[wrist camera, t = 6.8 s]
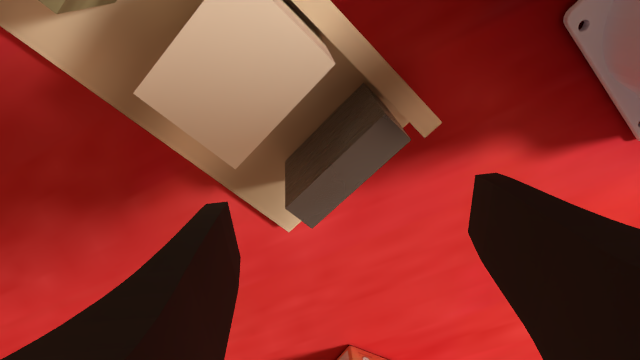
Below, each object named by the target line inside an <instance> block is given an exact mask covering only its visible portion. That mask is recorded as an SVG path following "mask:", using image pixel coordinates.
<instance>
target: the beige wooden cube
mask: <svg viewBox="0 0 640 360" xmlns="http://www.w3.org/2000/svg"><path fill="white" fill-rule="evenodd" d="M335 64H336V63H335V62H334V60H333V58H332V56H331V54H330V52H329V51H328V49H327V47H326V45H325V43H324V41H323V39H322V38H321V36H320V35H319V34H318V33H317V32H316V31H315V30H314V29H313V28H312V27H311V26H310V25H309V24H308V23H307V22H306V21H305V20H304V19H303V18H302V17H301V16H300V15H299V14H298V13H297V12H296V11H295V10H294V9H293V8H292V7H291V6H290V5H289V4H288V3H287V2H286V1H285V0H204V1H203V2H202V4H201V5H200V6H199V8H198V9H197V10H196V11H195V13H194V14H193V15H192V17H191V18H190V19H189V21H188V22H187V23H186V25H185V26H184V27H183V28H182V30H181V31H180V32H179V34H178V35H177V36H176V38H175V39H174V40H173V42H172V43H171V44H170V46H169V47H168V48H167V49H166V51H165V52H164V53H163V55H162V56H161V57H160V59H159V60H158V61H157V63H156V64H155V65H154V66H153V68H152V69H151V70H150V72H149V73H148V74H147V76H146V77H145V78H144V80H143V81H142V82H141V84H140V85H139V86H138V87H137V89H136V90H135V91H134V93H133V94H134V95H136V96H137V97H139V98H140V99H141V100H143V101H144V102H145V103H147V104H148V105H149V106H151V107H152V108H153V109H155V110H156V111H157V112H159V113H160V114H161V115H163V116H164V117H165V118H167V119H168V120H169V121H171V122H172V123H173V124H175V125H176V126H178V127H179V128H180V129H182V130H183V131H184V132H186V133H187V134H188V135H190V136H191V137H192V138H194V139H195V140H196V141H198V142H199V143H200V144H202V145H203V146H204V147H206V148H207V149H208V150H210V151H211V152H213V153H214V154H215V155H217V156H218V157H219V158H221V159H222V160H223V161H225V162H226V163H227V164H229V165H230V166H231V167H233V168H234V169H236V168H237V167H238V166H239V165H240V164H241V163H242V162H243V161H244V160H245V159H246V158H247V157H248V156H249V155H250V154H251V153H252V151H253V150H254V149H255V148H256V147H257V146H258V145H259V144H260V143H261V142H262V141H263V140H264V139H265V138H266V137H267V136H268V135H269V134H270V132H271V131H272V130H273V129H274V128H275V127H276V126H277V125H278V124H279V123H280V122H281V121H282V120H283V119H284V118H285V117H286V116H287V115H288V113H289V112H290V111H291V110H292V109H293V108H294V107H295V106H296V105H297V104H298V103H299V102H300V101H301V100H302V99H303V98H304V97H305V96H306V95H307V93H308V92H309V91H310V90H311V89H312V88H313V87H314V86H315V85H316V84H317V83H318V82H319V81H320V80H321V79H322V78H323V77H324V76H325V74H326V73H327V72H328V71H329V70H330V69H331V68H332V67H333V66H334V65H335Z"/></svg>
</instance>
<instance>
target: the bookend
mask: <svg viewBox="0 0 640 360" xmlns="http://www.w3.org/2000/svg"><path fill="white" fill-rule="evenodd" d="M410 141H411V139H410V137H409V136H408V135H407V133H406V132H405V131H404V129H403V128H402V127H401V125H400V124H399V123H398V121H397V120H396V118H395V117H394V116H393V114H392V113H391V112H390V110H389V109H388V108H387V106H386V105H385V104H384V103H383V102H382V101H381V100H380V99H379V98H378V97H377V96H376V95H375V94H374V93H373V92H372V91H371V90H370V88H369V87H368V86H367V85H366V84H365V83H363V84H362V85H361V86H360V87H359V88H358V89H357V90H356V91H355V92H354V93H353V94H352V95H351V96H350V97H349V98H348V99H347V100H346V101H345V102H344V103H343V104H342V105H341V106H340V107H339V108H338V109H337V110H336V111H335V112H334V113H333V114H332V115H331V116H330V117H329V118H328V119H327V120H326V121H325V122H324V123H323V124H322V125H321V126H320V127H319V128H318V129H317V130H316V131H315V132H314V133H313V134H312V135H311V136H310V137H309V138H308V139H307V140H306V141H305V142H304V143H303V144H302V145H301V146H300V147H299V148H297V149H296V150H295V151H294V152H293V153H292V154H291V155H290V156H289V157H288V158H287V159H286V160H285V209H286V210H288V211H289V212H290V213H292V214H293V215H294V216H296V217H297V218H298V219H300V220H301V221H302V222H304V223H305V224H306V225H308V226H309V227H310V228H313V227H315V226H316V225H317V224H318V223H319V222H320V221H321V220H322V219H323V218H325V217H326V216H327V215H328V214H329V213H330V212H331V211H332V210H334V209H335V208H336V207H337V206H338V205H339V204H340V203H341V202H342V201H344V200H345V199H346V198H347V197H348V196H349V195H350V194H351V193H353V192H354V191H355V190H356V189H357V188H358V187H359V186H360V185H361V184H363V183H364V182H365V181H366V180H367V179H368V178H369V177H370V176H372V175H373V174H374V173H375V172H376V171H377V170H378V169H379V168H380V167H382V166H383V165H384V164H385V163H386V162H387V161H388V160H389V159H391V158H392V157H393V156H394V155H395V154H396V153H397V152H398V151H399V150H401V149H402V148H403V147H404V146H405V145H406V144H407V143H408V142H410Z"/></svg>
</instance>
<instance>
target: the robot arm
mask: <svg viewBox="0 0 640 360" xmlns="http://www.w3.org/2000/svg"><path fill="white" fill-rule="evenodd" d="M581 21H584V24H583V27H582V28H581V29H580V30H579V29H578V26H579V24H580V22H581ZM563 22H564V25H565V27H566V28H567V30H568V31H569V33H570V35H571V36H572V38H573V39H574V41H575V42H576V44H577V46H578V47H579V49H580V50H581V52H582V54H583V55H584V57H585V58H586V60H587V61H588V63H589V65H590V66H591V68H592V69H593V71H594V73H595V74H596V76H597V77H598V79H599V80H600V82H601V84H602V85H603V87H604V88H605V90H606V91H607V93H608V95H609V96H610V98H611V99H612V101H613V103H614V104H615V106H616V107H617V109H618V110H619V112H620V114H621V115H622V117H623V118H624V120H625V122H626V123H627V125H628V126H629V128H630V129H631V131H632V133H633V134H634V136H635V137H636V139H637V140H639V141H640V123H639V121H640V0H578V1H577V2H576V3H575V4H574V5H573V6H571V7H570V8H569V9H568V10H567V12H566V13H565V15H564V20H563ZM638 123H639V124H638ZM468 233H469V236H470V238H471V240H472V242H473V244H474V247H475V249H476V251H477V253H478V255H479V257H480V259H481V261H482V262H483V264H484V266H485V267H486V269H487V270H488V272H489V273H490V275H491V276H492V278H493V279H494V281H495V282H496V284H497V285H498V287H499V288H500V290H501V291H502V293H503V294H504V296H505V297H506V299H507V300H508V302H509V303H510V305H511V306H512V308H513V309H514V311H515V312H516V314H517V315H518V317H519V318H520V320H521V321H522V323H523V324H524V326H525V328H526V329H527V331H528V333H529V334H530V336H531V338H532V339H533V341H534V343H535V345H536V347H537V349H538V351H539V352H540V354H541V356H542V358H543V360H640V229H638V228H635V227H632V226H629V225H626V224H623V223H620V222H617V221H614V220H611V219H609V218H606V217H603V216H601V215H598V214H595V213H593V212H590V211H588V210H585V209H583V208H580V207H578V206H575V205H573V204H570V203H568V202H566V201H563V200H561V199H559V198H556V197H554V196H552V195H549V194H547V193H545V192H542V191H540V190H538V189H536V188H533V187H531V186H529V185H526V184H524V183H522V182H519V181H517V180H515V179H512V178H510V177H507V176H504V175H501V174H498V173H490V174H481V175H475V183H474V190H473V198H472V205H471V213H470V220H469V228H468ZM239 274H240V253H239V249H238V245H237V241H236V236H235V232H234V228H233V223H232V219H231V215H230V211H229V206H228V202H221V203H212V204H206V205H205V206H204V207H202V208H201V209H200V210H199V211H198V212H197V214H196V215H195V216H194V217H193V218H192V219H191V220H190V221H189V222H188V223H187V224H186V225H185V226H184V227H183V228H182V229H181V230H180V231H179V232H178V233H177V234H176V235H175V236H174V237H173V238H172V239H171V240H170V241H169V242H168V243H167V244H166V245H165V246H164V247H163V248H162V249H161V250H160V251H158V252H157V253H156V254H155V255H154V256H153V257H152V258H151V259H150V260H149V261H147V262H146V263H145V264H144V265H143V266H142V267H141V268H140V269H139V270H137V271H136V272H135V273H134V274H133V275H131V276H130V277H129V278H128V279H126V280H125V281H124V282H123V283H121V284H120V285H119V286H117V287H116V288H115V289H113V290H112V291H111V292H109V293H108V294H107V295H105V296H104V297H103V298H101V299H100V300H98V301H97V302H95V303H94V304H92V305H91V306H89V307H88V308H86V309H85V310H83V311H82V312H80V313H79V314H77V315H76V316H74V317H73V318H71V319H70V320H68V321H67V322H65V323H64V324H62V325H61V326H59V327H57V328H56V329H54V330H52V331H51V332H49V333H47V334H46V335H44V336H42V337H41V338H39V339H37V340H36V341H34V342H32V343H30V344H28V345H27V346H25V347H23V348H21V349H19V350H18V351H16V352H14V353H12V354H10V355H9V356H7V357H5V358H3V359H1V360H224V357H225V352H226V347H227V343H228V338H229V333H230V328H231V323H232V318H233V313H234V308H235V303H236V298H237V293H238V287H239Z"/></svg>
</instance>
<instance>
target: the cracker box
mask: <svg viewBox="0 0 640 360" xmlns="http://www.w3.org/2000/svg"><path fill="white" fill-rule="evenodd" d="M337 360H388V359H385V358H382V357H380V356H377V355H374V354H372V353H369V352H366V351H364V350H361V349H359V348H356V347H354V346H348V347H347V348H346V350H345V351H344V352H343V353H342V354H341V355H340V356H339V357H338V359H337Z"/></svg>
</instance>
